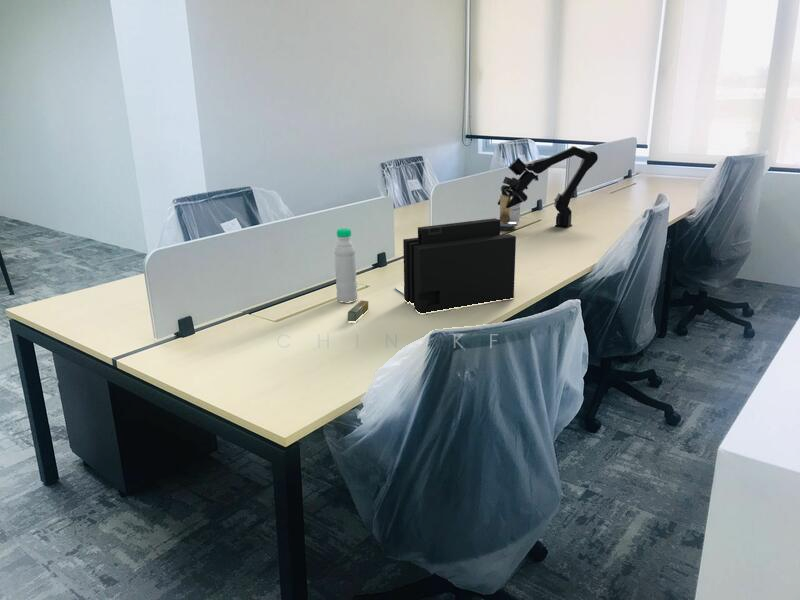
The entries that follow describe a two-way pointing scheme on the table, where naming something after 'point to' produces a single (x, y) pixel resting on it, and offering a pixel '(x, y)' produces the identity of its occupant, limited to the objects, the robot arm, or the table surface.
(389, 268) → the table surface
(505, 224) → the turntable platter
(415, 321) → the table surface
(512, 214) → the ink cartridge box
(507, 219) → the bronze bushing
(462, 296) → the game console
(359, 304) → the medication box
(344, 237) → the water bottle
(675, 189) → the table surface
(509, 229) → the turntable base
